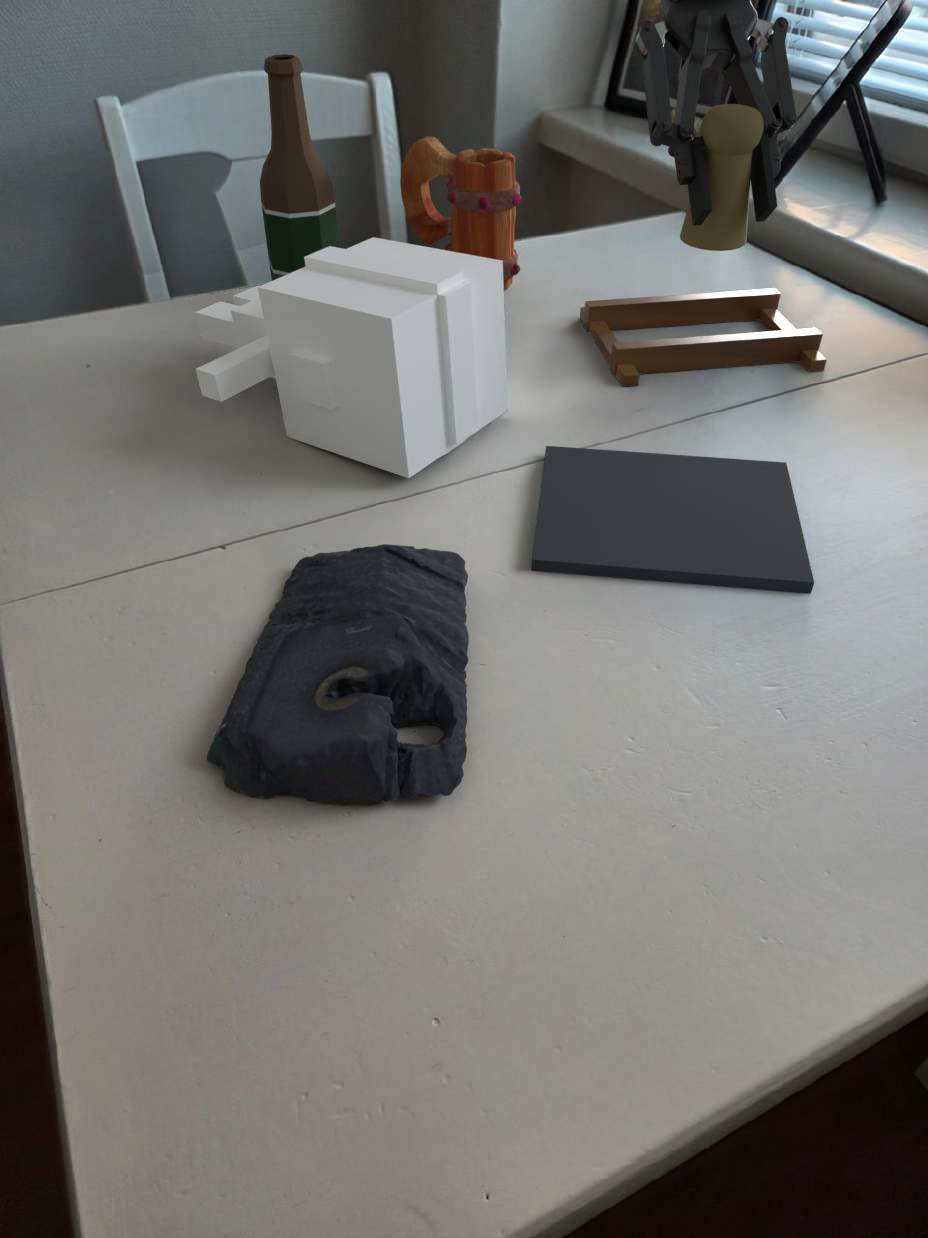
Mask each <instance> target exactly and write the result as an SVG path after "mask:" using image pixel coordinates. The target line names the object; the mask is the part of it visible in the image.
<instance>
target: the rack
mask: <svg viewBox="0 0 928 1238" xmlns="http://www.w3.org/2000/svg"><path fill="white" fill-rule="evenodd" d="M781 296H782V294H781V292H780V291H779V290H778V289H777V288H775V287H772V288H760V289H759V288H757V289H744V290H731V291H729V290H727V291H716V292H715V291H714V292H700V293H698V292H697V293H687V294H686V293H685V294H671V295H670V294H669V295H656V296H641V297H628V298H627V297H625V298H611V299H598V300H596V299H595V300H586V301H585V302H584V303H585V304H584V306H581V307H580V310H579V319H580V321H581V322H582V323H583V324H582V327H583V329H584V330H585V332H586V333H589V335H590V336H591V338H592V340H593V341H594V343H595V345H596V347H597V348H598V349H599V351H600V353H601V354H602V356H603V357H604V359H605V361H606V362H607V364H608V366H609V371H610V373H611V374H612V376H613V377H616V378H617V381H618V382H619V384H620V386H621V387H623V388H626V387H637V386H639V383H640V376H641V375H646V374H647V375H648V374H658V373H671V372H673V373H674V372H684V371H697V370H711V369H712V370H713V369H722V368H734V367H735V368H736V367H751V366H760V365H761V366H762V365H763V366H764V365H773V364H786V363H800V364H801V365H802V366H803V367H804V368H805V369H806V370H807V371H808V372H809V373H813V372H823V371H825V368H826V365H827V361H828V360H827V358H826V357H825V356H824V355H823V354H822V353H821V352H820V351H819V350H820V346H821V344H822V343H821V342H822V339H823V335H824V334H823V333H822V332H821V330H819V329H818V328H817V327H809V328H796V327H795V326H794V325H793V324H792V323H791V322H789V320H788V319H787V318H786V317H784V315H783V314H781V312H780V311H779V310H778V308H779V304H780V299H781ZM751 321H760V322H761V323H762V324H763V325H764V326H765V327H766V328H767V329H768V331H755V332H742V333H729V334H714V335H713V334H712V335H701V336H700V335H699V336H686V337H674V338H660V339H659V338H658V339H646V340H645V339H644V340H632V341H620V342H619V341H618V339H617V338H616V337H615V335H614V333H613V332H612V331H625V330H640V329H652V328H666V327H679V326H682V327H683V326H693V325H695V326H696V325H709V324H721V323H735V322H736V323H737V322H751Z"/></svg>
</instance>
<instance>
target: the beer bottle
mask: <svg viewBox="0 0 928 1238" xmlns="http://www.w3.org/2000/svg"><path fill="white" fill-rule="evenodd" d="M301 61H302V60H301V59H300V58H299V57H298V56H296V55H294V54H288V53H287V54H285V53H284V54H283V53H282V54H274V55H271V56H268V57H266V58H264V65H263V71H264V72H265V73H266V74H267V83H268V84H267V85H268V98H269V99H268V100H269V114H270V115H269V116H270V129H271V130H270V131H271V135H270V136H271V137H270V138H271V139H270V150H269V152H268V154H267V156H266V158H265V160H264V163H263V164H262V168H261V174H260V178H259V190H260V191H259V193H260V203H261V211H262V219H263V225H264V226H263V227H264V233H265V241H266V248H267V249H266V250H267V257H268V263H269V271H270V278H271V281H273V280H276V279H278V278H280V277H283V276H285V275H287V274H290V273H292V272H294V271H296V270H299V269H301V268H303V267H306V266H305V260H304V257H305V256H308V255H310V254H312V253H315V252H317V251H319V250H322V249H324V248H326V247H329V246H332V247H337V248H340V244H339V232H338V231H339V230H338V219H337V207H336V200H335V199H336V198H335V193H334V186H333V182H332V180H331V177H330V175H329V172H328V170H327V167H326V166H325V164H324V163H323V161H322V159H321V158H320V157H319V156H318V154H317V153H316V151H315V150H314V146H313V142H312V138H311V133H310V128H309V121H308V115H307V114H308V113H307V108H306V102H305V95H304V88H303V82H302V73H303V71H304V68H303V65H302V62H301Z"/></svg>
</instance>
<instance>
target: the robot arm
mask: <svg viewBox="0 0 928 1238" xmlns="http://www.w3.org/2000/svg"><path fill="white" fill-rule="evenodd" d="M660 1H661V9H662V13H663V18H662V21H659V22H657V23H654V22H652V21H651V20H644V21H643V22H642V23H641V26H640V27H639V29H638V33H637V35H636V37H635V39H634V42H633V49H634V51H635V54H636V55H637V57H638V60H639V61H640V64H641V68H642V77H643V87H644V95H645V106H646V115H647V123H648V124H647V125H648V134H649V141H650V143H651V145H652V146H654V147H661V146H666V147H668V149H667V153H668V155H669V156H670V157H672V158H673V159H674V165H675V173H676V181H677V182H678V184H679V185H680V186H686V185H687V191H688V199H689V201H690V208H691V215H692V223H693V226H694V225H701V224H702V223H703V222H704V220H705V219H706V218H707V216H708V215H709V214H710V212H711V211H712V203H711V195H710V188H709V180H708V172H707V165H706V157H705V149H704V142H703V136H701V135H700V136H694V137H693V134H694V130H695V122H696V114H697V108H698V99H699V93H700V85H701V78H702V70H704V69H705V70H706V69H708V68H713V69H717V70H720V72H721V75H722V77H723V79H724V81H725V82H728V84H729V85H730V88H731V90H732V93H733V95H734V99H735V101H736V102H737V103H736V104H740V105H745V106H749V107H752V108H755V109H756V110H758V111H759V112H760V114H761V116H762V119H763V133H762V137H761V139H760V141H759V143H758V145H757V146H756V147H755V148H754V149H753V150H752V163H751V179H750V189H751V194H752V201H753V202H752V203H753V209H754V217H755V222H756V223H760V222H761V223H763V222H765V221H766V220H767V219H768V218H769V217H770V215H771V214H772V213H774V212H775V210H776V209H777V208H778V199H777V192H776V183H775V178H776V177H777V176H778V175H779V173H780V172H781V168H782V163H781V156H780V149H779V143H778V142H782V141H783V140H784V139H785V138H786V136H787V135H788V134H789V133H790V131H791V130H792V129H793V128H794V126H795V125H796V123H797V121H798V115H797V110H796V104H795V97H794V92H793V85H792V84H793V83H792V78H791V72H790V65H789V58H788V53H787V48H786V46H787V45H786V40H787V35H788V30H789V21H788V19H787V18H786V17H784V16H779V17H777V18H776V19H775V20H774V22H772V21H768V20H765V19H761V18H759V15H758V12H757V10H756V9H755V8H754V6H753V4H752V1H751V0H660ZM751 36H752V37H754V39H755V40H756V46H757V47H756V51H757V52H758V53H760V69H761V75H762V81H763V83H762V81H761V78H760V76H759V74H758V71H757V68H756V66H755V63H754V61H753V49H752V47H751V45H750V42H749V39H750V38H751ZM666 43H667V44H668V45H669V46H670V47H671V48H672V49H673V51H674V52H675V53H676V55H678V56H679V57H680V63H679V70H678V77H677V79H678V88H677V95H676V104H675V110H674V118H673V116H672V107H671V97H670V90H669V88H670V87H669V79H668V71H667V63H666V62H667V61H666V60H667V59H666V52H665V44H666Z"/></svg>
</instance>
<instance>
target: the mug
mask: <svg viewBox="0 0 928 1238" xmlns="http://www.w3.org/2000/svg"><path fill="white" fill-rule="evenodd" d="M439 176H443V177H446V178H449V180H448V181H447V183H446V189H447V196H446V198H447V201H448V202H449V203H450V204H451V216H443V215H442V214H441V213H439V212H438V210H437V209H436V207H435V205H434V203H433V201H432V198H431V191H430V185H429V182H430V181H431V180H433V179H435V178H437V177H439ZM399 180H400V181H399V184H400V195H401V200H402V204H403V205H402V206H403V208H404V212H405V213H404V214H405V216H406V218H407V220H408V222H409V224H410V226H411V228H412V229H413V231H414V232H415V234H416V236H417V237H418V238H419V239H420V241H421V242H422V243H423V244H424V245H425V246H426V247H429V246H431V245H432V246H433V244H435V243H437V242H439V241H441V240H442V239H443V238H444V237H446V236H449V235H450V243H447V244H445V245H444V250H447V251H452V252H458V253H463V254H469V255H474V256H480V257H485V258H491V259H496V260H502V261H503V285H504V291H507V290H508V289H509V288H510V287H511V285H512V284H513V281H514V280H513V277H514V276H517V275H518V274H519V273H520V271H521V267H520V265H519V264H518V262H519V254H518V251H517V250H516V248H515V232H516V231H515V227H516V226H515V225H516V217H517V215H516V213H517V211H516V210H517V209H516V206H518V205H520V204H521V203H522V201H523V198H522V195H521V194H520V193H521V191H520V190H521V186H520V184H519V182H518V181H517V180H516V157H515V156H514V155H513V154H512V153H511V152H509V151H506V152H502V151H501V150H499V149H497V148H488V147H483V148H479V150H477V151H475V150H474V149H471V148H467V149H464V150H461V151H460V152H458V153H457V154H455V153H452V152H451V151H449V150H448V149H447V148H446V147H445V146H444V145H443V144H442V143H441V141H440V140H439V139H438V138H437V137H435V136H430V135H429V136H428V135H427V136H424V137H423V138H420V139H418V140H416V141H415V142H413V144H412V145H411V146H410V148H409V149H408V151H407V152H406V154H405V157H404V159H403V163H402V165H401V168H400V177H399Z"/></svg>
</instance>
